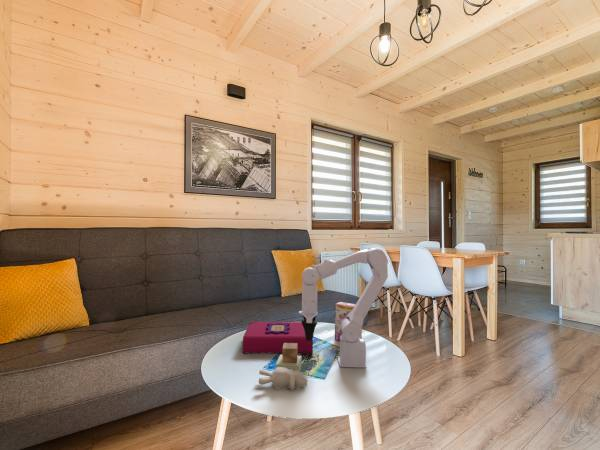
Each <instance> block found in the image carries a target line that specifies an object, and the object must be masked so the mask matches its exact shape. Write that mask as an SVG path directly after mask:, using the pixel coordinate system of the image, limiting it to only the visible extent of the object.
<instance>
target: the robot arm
mask: <svg viewBox="0 0 600 450" xmlns="http://www.w3.org/2000/svg"><path fill="white" fill-rule="evenodd" d="M358 263H359V264H360V263H361V264H365V265H366V264H367V265H368V266H369V267H370V270H371V273H372V276H371V277H370V279H369V281H368V282H367V285H366V286H365V288H364V289H363V291H362V293H361V294H360V297H359V298H358V300H357V302H356V303H355V304H356V305H355V307H354V308H353V310H352V311H351V312H350V313H349V314H348V316H347V317H346V318H344V319H343V320H342V321H341V323H340V328H341V330H342V335H341V336H340V341H339V356H337V360H338V361H337V362H338V365H339V368H364V369H365V368H367V364H366V363H367V346H366V340H365V339H364V338H362V339H360V338H359V336H360V330H361V328H363V325H364V320H365V318H366V316H367V314H368V313H369V311H370V309H371V307H372V305H373V303H374V302H375V300H376V298H378V296H379V293H380V291H381V290H382V288H383V286H384V285H385V283H386V281H387V279H388V278H389V276H388V275H389V274H388V273H389V272H388V271H389V270H388V267H389V266H388V263H389V260H388V257H387V255H386V253H385V252H384V250H382V249H379V248H376V247H369V248H367V249H366V248H365V249H362V250H359V251H356V252H354V253H351V254H348V255H346V256H344V257H342V258H339V259H337V260H332V259H327V258H326V259H324V260H323V262H320V263H318V264H316V265H315V264H312V265H311V266H309V267H306V268H304V270H303V271H302V274H301V279H302V288H301V310H299V311H298V315H301V316H302V318H303V320H301V322H302V325H303V327H304V331H305V337H306V341H312V339H313V340H314V332H315V329H316V327H317V325H318V321H316V318H317V316H318V286H317V284H318V280H319V281H321V280H325V279H326V278H329V277H332V276H334V275H336V274H337V273H338V271H339V270H340V269H342V268H346V267H349V266H352V265H355V264H358Z"/></svg>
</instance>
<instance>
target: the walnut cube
mask: <svg viewBox="0 0 600 450" xmlns="http://www.w3.org/2000/svg"><path fill="white" fill-rule="evenodd" d="M298 354H299V353H298V343H284V344H283V353H282V355H283V357H282V363H297V356H298Z"/></svg>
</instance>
